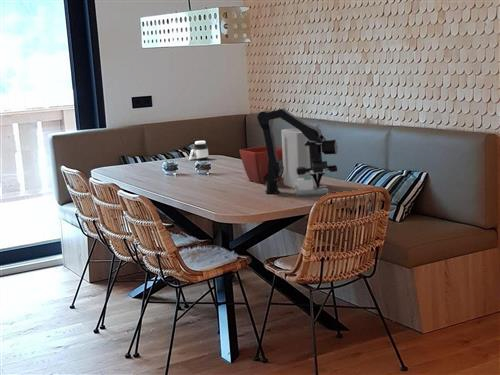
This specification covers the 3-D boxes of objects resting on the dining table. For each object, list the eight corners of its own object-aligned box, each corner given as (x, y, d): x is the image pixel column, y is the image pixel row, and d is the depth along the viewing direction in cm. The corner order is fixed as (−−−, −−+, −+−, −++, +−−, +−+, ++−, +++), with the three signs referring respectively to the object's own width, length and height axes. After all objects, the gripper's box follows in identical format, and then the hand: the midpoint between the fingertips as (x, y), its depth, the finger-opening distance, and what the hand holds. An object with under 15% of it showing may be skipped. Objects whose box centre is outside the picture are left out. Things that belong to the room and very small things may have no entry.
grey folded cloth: (294, 192, 371) (294, 184, 370) (325, 190, 371) (325, 182, 370) (296, 196, 361) (296, 188, 360) (328, 194, 361) (328, 186, 361)
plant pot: (240, 180, 411) (238, 149, 408) (271, 176, 419) (270, 145, 416) (257, 185, 394) (255, 152, 391) (289, 180, 403) (288, 148, 400)
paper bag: (326, 186, 381) (324, 130, 375) (299, 190, 375) (297, 133, 370) (309, 181, 398) (307, 127, 393) (283, 184, 393) (280, 129, 387)
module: (297, 191, 368) (296, 177, 367) (312, 190, 368) (311, 176, 367) (298, 193, 363) (297, 179, 362) (313, 192, 363) (312, 178, 362)
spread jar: (210, 159, 492) (209, 141, 490) (194, 161, 487) (193, 143, 484) (201, 157, 502) (200, 140, 500) (186, 159, 497) (184, 141, 495)
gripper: (297, 159, 355) (300, 192, 357) (337, 155, 355) (340, 188, 358) (295, 155, 366) (297, 188, 368) (334, 152, 366) (336, 184, 369)
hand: (317, 187), depth 365 cm, fingers closed
